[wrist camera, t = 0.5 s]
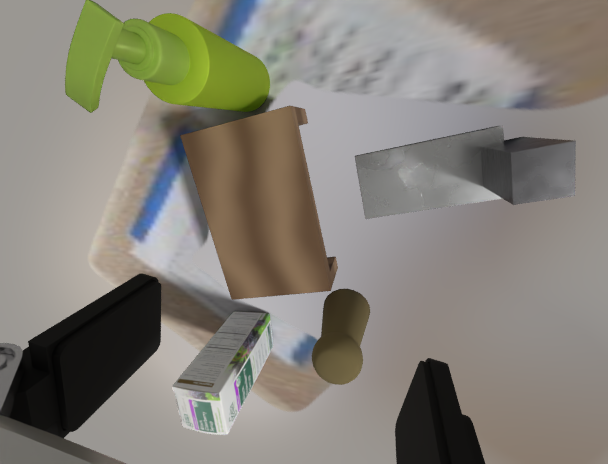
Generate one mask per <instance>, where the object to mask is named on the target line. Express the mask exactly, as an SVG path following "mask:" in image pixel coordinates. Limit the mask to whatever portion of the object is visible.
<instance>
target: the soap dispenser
mask: <svg viewBox="0 0 608 464" xmlns="http://www.w3.org/2000/svg"><path fill="white" fill-rule="evenodd" d="M111 58H113V59H117V60H118V61H119V63H120V65H121V67H122V68H123V69H124V71H125V72H126V73H128V74H129V75H130V76H132V77H134V78H136V79H140V80H144V82H145V83H146V85H147V87H148V88H149V89H150V90H151V92H152V93H153V94H154V95H156V96H157V97H158V98H160V99H161V100H163V101H165V102H167V103H171V104H178V105H187V106H196V107H206V108H215V109H224V110H233V111H243V112H249V111H253V110H255V109H257V108H259V107H260V106H261V105H262V104H263V103H264V102H265V100H266V98H267V96H268V93H269V89H270V79H269V74H268V71H267V69H266V67H265V65H264V64H263V63H262V62H261V61H260V60H259V59H258V58H257V57H255V56H253V55H252V54H250V53H248V52H246V51H244V50H243V49H241V48H239V47H237V46H235V45H234V44H232V43H230V42H228V41H226V40H225V39H223V38H221V37H219V36H217V35H216V34H214V33H212V32H210V31H208V30H207V29H205V28H203V27H201V26H199V25H198V24H196V23H194V22H192V21H190V20H188V19H187V18H185V17H183V16H180V15H177V14H171V13H168V14H162V15H159V16H157V17H155V18H153V19H152V20H151V21H150V22H149V23H148V22H146V21H144V20H141V19H130V20H127V21H125V22H124V23H123V22H121V21H120V20H119V19H117V18H115V17H114V16H113V15H112V14H110V13H109V12H108V11H106V10H105V9H104V8H102V7H101V6H99V5H98V4H97V3H95V2H93V1H91V0H86V1H85V4H84V7H83V9H82V12H81V15H80V18H79V21H78V23H77V26H76V29H75V32H74V35H73V38H72V42H71V45H70V49H69V53H68V59H67V65H66V77H65V92H66V95H67V96H68V97H70V98H71V99H72V100H74V101H75V102H77V103H78V104H79V105H81V106H82V107H83V108H85V109H86V110H87V111H89V112H90V113H91V112H93V111H94V110H96V109H97V108H98V106H99V98H100V92H101V88H102V84H103V80H104V77H105V74H106V71H107V68H108V65H109V63H110V60H111Z"/></svg>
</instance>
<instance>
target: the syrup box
mask: <svg viewBox="0 0 608 464" xmlns="http://www.w3.org/2000/svg"><path fill="white" fill-rule="evenodd" d="M272 348H273V338H272V328H271V321H270V314H269V313H256V312H236V311H234V312H233V313H232V314H231V315H230V316H229V318H228V319H227V320H226V321H225V322H224V324H223V325H222V326H221V327H220V328H219V330H218V331H217V332H216V333H215V335H214V336H213V337H212V338H211V339H210V341H209V342H208V343H207V344H206V346H205V347H204V348H203V349H202V350H201V352H200V353H199V354H198V355H197V356H196V358H195V359H194V360H193V362H192V363H191V364H190V365H189V366H188V367H187V369H186V370H185V371H184V372H183V373H182V375H181V376H180V377H179V379H178V380H177V381H176V382H175V383H174V385H173V386H172V389H173V391H174V393H175V398H176V404H177V408H178V411H179V415H180V419H181V424H182V426H183V427H185V428H188V429H191V430H194V431H198V432H203V433H208V434H217V435H227V434H228V433H229V431H230V429H231V427H232V425H233V423H234V421H235V420H236V418H237V416H238V414H239V412H240V410H241V408H242V406H243V404H244V402H245V400H246V398H247V396H248V394H249V392H250V390H251V388H252V387H253V385H254V383H255V381H256V379H257V377H258V375H259V373H260V371H261V369H262V367H263V365H264V363H265V361H266V360H267V357H268V355H269V354H270V352H271V350H272Z"/></svg>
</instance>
